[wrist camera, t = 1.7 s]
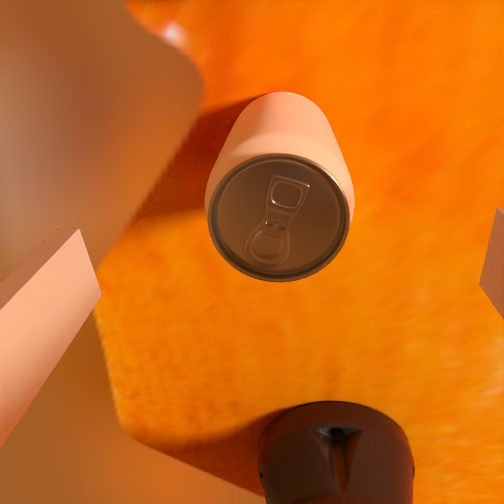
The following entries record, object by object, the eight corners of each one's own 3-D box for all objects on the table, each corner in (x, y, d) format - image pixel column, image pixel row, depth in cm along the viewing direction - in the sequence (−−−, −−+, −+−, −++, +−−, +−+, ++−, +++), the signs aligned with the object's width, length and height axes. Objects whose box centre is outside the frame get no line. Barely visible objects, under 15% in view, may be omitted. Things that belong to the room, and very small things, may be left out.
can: (221, 174, 28) (182, 268, 17) (246, 76, 25) (216, 119, 14) (311, 201, 28) (326, 307, 18) (347, 107, 25) (390, 171, 15)
